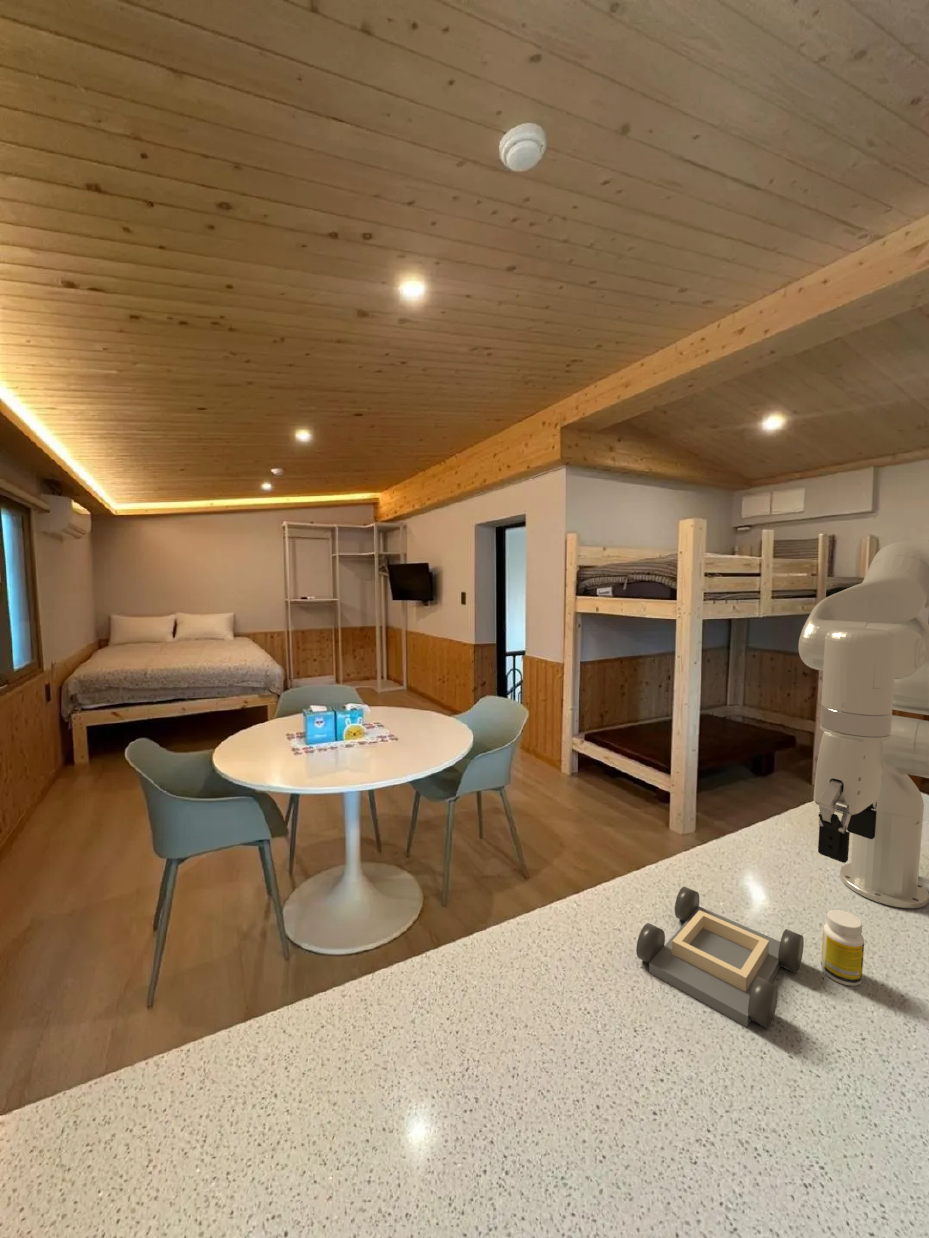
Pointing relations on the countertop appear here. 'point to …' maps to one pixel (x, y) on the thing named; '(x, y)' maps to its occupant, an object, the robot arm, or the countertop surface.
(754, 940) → the toy chassis
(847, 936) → the supplement bottle
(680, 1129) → the countertop surface
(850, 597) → the robot arm
